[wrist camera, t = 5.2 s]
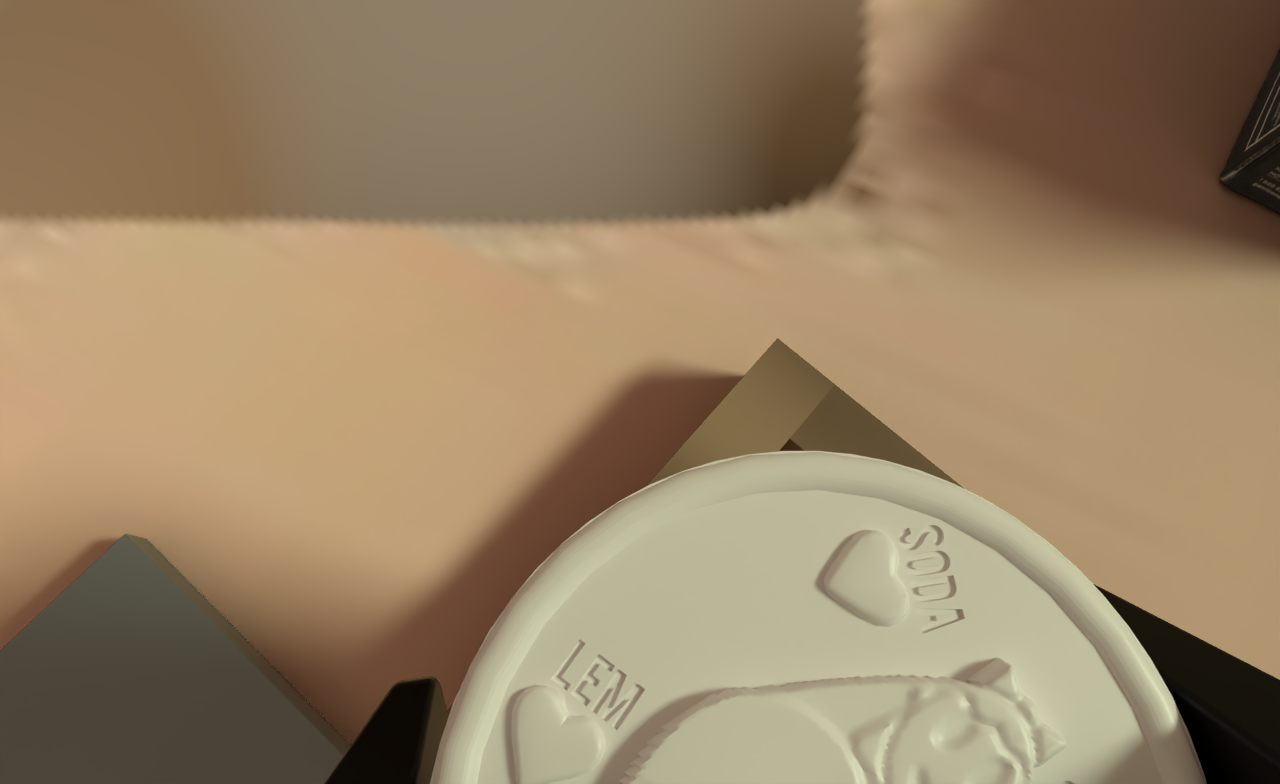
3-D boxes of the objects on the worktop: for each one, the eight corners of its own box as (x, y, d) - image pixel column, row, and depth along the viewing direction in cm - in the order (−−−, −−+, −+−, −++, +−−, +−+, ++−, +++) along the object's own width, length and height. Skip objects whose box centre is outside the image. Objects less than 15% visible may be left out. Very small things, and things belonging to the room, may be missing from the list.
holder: (838, 1099, 19) (879, 1179, 16) (452, 721, 21) (427, 732, 18) (1117, 672, 22) (1195, 675, 19) (756, 375, 24) (777, 338, 21)
